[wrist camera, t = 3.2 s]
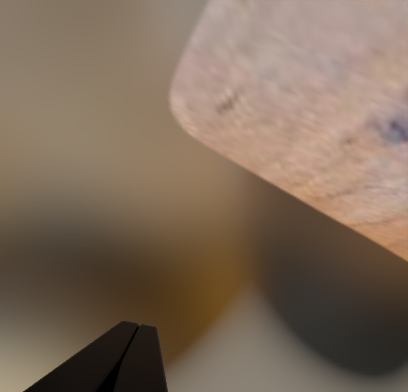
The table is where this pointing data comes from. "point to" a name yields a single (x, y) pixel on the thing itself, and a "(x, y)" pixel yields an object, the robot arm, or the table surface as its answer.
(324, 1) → the table surface
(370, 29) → the table surface
